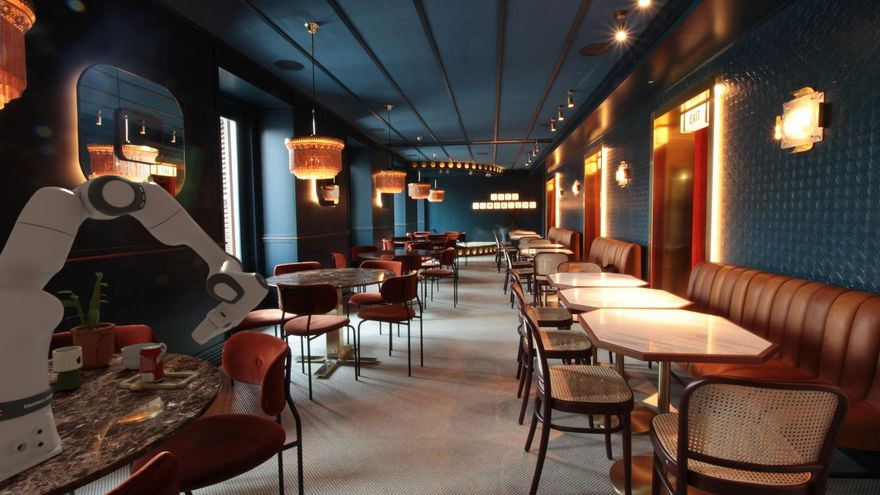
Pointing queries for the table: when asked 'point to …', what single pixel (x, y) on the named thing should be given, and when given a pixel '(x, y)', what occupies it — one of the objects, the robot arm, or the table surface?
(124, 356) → the teacup
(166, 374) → the wooden rectangular frame
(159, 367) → the soda can
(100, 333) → the potted plant
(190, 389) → the table surface
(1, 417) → the robot arm
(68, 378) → the character mug
